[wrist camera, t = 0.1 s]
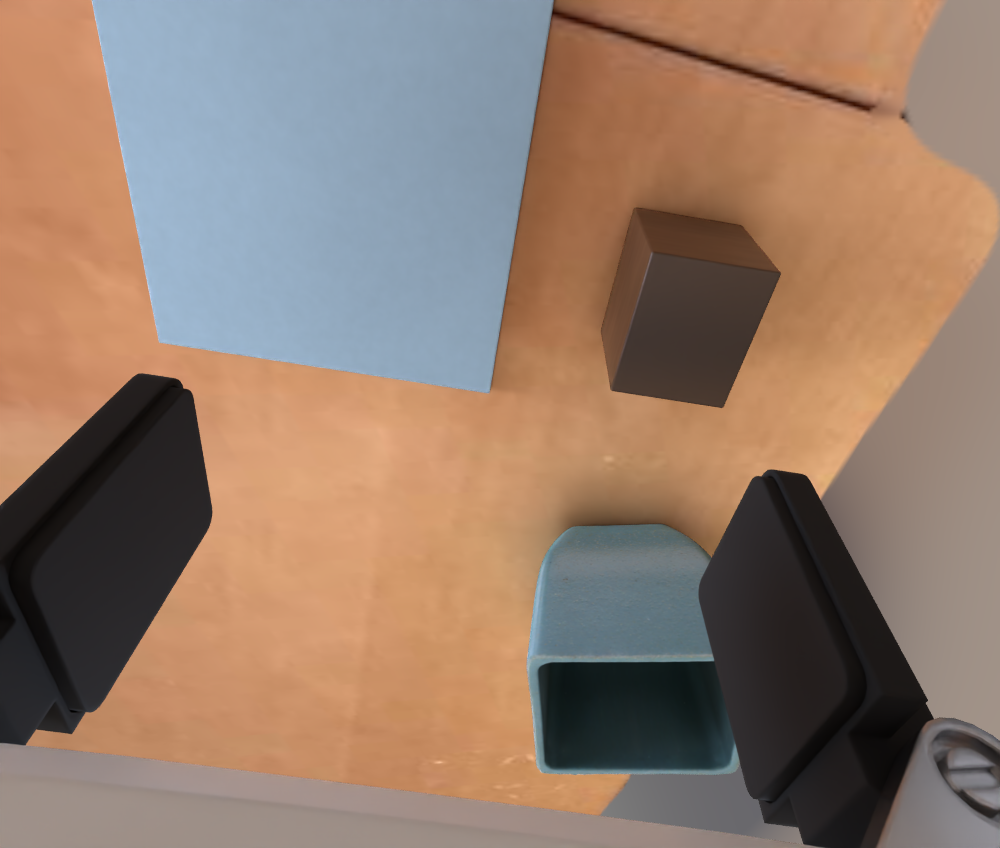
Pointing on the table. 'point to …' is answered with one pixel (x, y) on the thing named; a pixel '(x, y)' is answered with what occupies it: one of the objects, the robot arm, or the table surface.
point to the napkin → (328, 174)
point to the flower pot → (625, 657)
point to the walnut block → (684, 307)
